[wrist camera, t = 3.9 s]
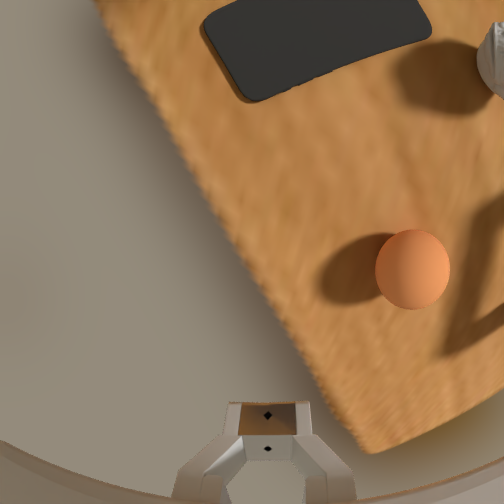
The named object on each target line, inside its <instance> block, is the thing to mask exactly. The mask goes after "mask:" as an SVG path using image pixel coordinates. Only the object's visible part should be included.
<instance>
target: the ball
mask: <svg viewBox="0 0 504 504" xmlns="http://www.w3.org/2000/svg"><path fill="white" fill-rule="evenodd" d="M449 275H450V264H449V258H448V255H447V253H446V250H445V249H444V247H443V245H442V244H441V243H440V242H439V241H438V240H437V239H436V238H435V237H434V236H432V235H431V234H429V233H427V232H424V231H420V230H406V231H402V232H400V233H397V234H395V235H394V236H392V237H391V238H390V239H388V240H387V241H386V242H385V244H384V245H383V246H382V248H381V250H380V251H379V254H378V256H377V259H376V265H375V276H376V281H377V284H378V287H379V289H380V291H381V292H382V294H383V295H384V297H385V298H386V299H387V300H388V301H390V302H391V303H392V304H394V305H396V306H398V307H400V308H404V309H410V310H413V309H421V308H424V307H426V306H428V305H430V304H432V303H433V302H435V301H436V300H437V299H438V298H439V297H440V296H441V294H442V293H443V291H444V290H445V288H446V286H447V283H448V280H449Z"/></svg>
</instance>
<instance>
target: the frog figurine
mask: <svg viewBox="0 0 504 504" xmlns="http://www.w3.org/2000/svg"><path fill="white" fill-rule="evenodd" d="M477 67H478V70H479V73H480V75H481V78H482V79H483V81H484V82H485V84H486V85H487V86H488V87H489V88H490V90H492V92H494V93H495V94H497V95H499V97H501V98H502V99H503V100H504V22H500V23H499V22H494V23H493V24H492V26H491V28H490V29H489V32H488V33H487V35H486V36H485V40H484V41H483V42H482V43H481V44H480V46H479V48H478V51H477Z"/></svg>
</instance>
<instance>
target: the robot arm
mask: <svg viewBox="0 0 504 504" xmlns="http://www.w3.org/2000/svg"><path fill="white" fill-rule="evenodd" d="M265 460H266V461H267V460H268V461H291V462H292V463H293V465H294V466H295V467H296V469H297V470H298V471H299V473H300V474H301V475H302V477H303V478H304V479H305V487H304V494H303V500H302V504H504V457H501V458H499V459H497V460H495V461H493V462H490V463H488V464H485V465H483V466H481V467H478V468H476V469H473V470H470V471H468V472H465V473H462V474H459V475H457V476H454V477H451V478H448V479H445V480H441V481H438V482H435V483H431V484H428V485H424V486H421V487H417V488H413V489H409V490H405V491H401V492H396V493H392V494H387V495H382V496H377V497H372V498H365V499H360V500H357V497H356V489H355V482H354V475H353V471H352V470H351V469H350V468H349V467H348V466H347V465H346V464H345V463H344V462H343V461H342V460H341V459H340V458H339V457H338V456H337V455H336V454H335V453H334V452H333V451H332V450H331V449H330V448H329V447H328V446H327V445H326V444H325V443H324V442H323V441H322V440H321V439H320V438H319V437H318V436H317V435H316V434H312V427H311V415H310V403H309V401H296V402H295V401H293V402H269V403H253V402H252V403H250V402H229V403H228V406H227V412H226V417H225V423H224V429H223V434H222V435H218V436H217V437H215V439H213V440H212V441H211V442H210V443H209V444H208V445H207V446H206V447H205V448H204V449H202V450H201V451H200V452H199V453H198V454H197V455H195V456H194V457H193V458H192V459H191V460H190V461H189V462H187V463H186V464H185V465H184V466H183V467H182V468H180V469H179V470H178V473H177V477H176V481H175V484H174V488H173V492H172V495H171V498H170V497H165V496H159V495H155V494H150V493H145V492H141V491H136V490H132V489H128V488H124V487H120V486H117V485H113V484H109V483H105V482H103V481H99V480H96V479H93V478H90V477H87V476H84V475H81V474H78V473H75V472H72V471H70V470H67V469H64V468H62V467H59V466H57V465H54V464H52V463H49V462H47V461H45V460H42V459H40V458H38V457H35V456H33V455H31V454H29V453H27V452H25V451H23V450H20V449H18V448H16V447H14V446H13V445H11V444H9V443H7V442H5V441H1V440H0V504H232V502H231V500H230V497H229V494H228V491H227V489H226V485H227V484H228V483H229V482H230V481H231V480H232V479H233V477H234V476H235V475H236V474H237V473H238V472H239V470H240V469H241V468H242V467H243V466H244V464H245V463H246V461H265Z"/></svg>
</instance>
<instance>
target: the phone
mask: <svg viewBox="0 0 504 504" xmlns="http://www.w3.org/2000/svg"><path fill="white" fill-rule="evenodd" d="M204 30H205V32H206V34H207V36H208V37H209V39H210V41H211V42H212V44H213V46H214V47H215V49H216V51H217V52H218V54H219V56H220V57H221V59H222V61H223V62H224V64H225V66H226V67H227V69H228V71H229V73H230V74H231V76H232V78H233V79H234V81H235V83H236V85H237V86H238V88H239V90H240V91H241V93H242V94H243V95H244V96H245V97H246V98H248V99H250V100H252V101H262V100H265V99H268V98H270V97H272V96H274V95H276V94H279V93H281V92H285V91H287V90H289V89H291V88H292V87H294V86H296V85H298V86H299V85H301V84H303V83H305V82H308V81H310V80H312V79H313V78H315V77H320V76H322V75H325V74H327V73H330V72H332V70H335V69H337V68H340V67H342V66H345V65H348V64H350V63H353V62H356V61H359V60H361V59H364V58H367V57H370V56H373V55H376V54H379V53H382V52H385V51H388V50H391V49H394V48H398V47H401V46H404V45H408V44H411V43H415V42H418V41H422V40H424V39H427V38H428V37H430V35H431V33H432V27H431V24H430V22H429V20H428V18H427V16H426V14H425V13H424V11H423V9H422V8H421V6H420V4H419V3H418V1H417V0H237V1H235V2H232V3H230V4H228V5H226V6H224V7H222V8H220V9H218V10H216V11H214V12H212V13H211V14H210V15H208V16H207V18H206V19H205V21H204Z"/></svg>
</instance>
